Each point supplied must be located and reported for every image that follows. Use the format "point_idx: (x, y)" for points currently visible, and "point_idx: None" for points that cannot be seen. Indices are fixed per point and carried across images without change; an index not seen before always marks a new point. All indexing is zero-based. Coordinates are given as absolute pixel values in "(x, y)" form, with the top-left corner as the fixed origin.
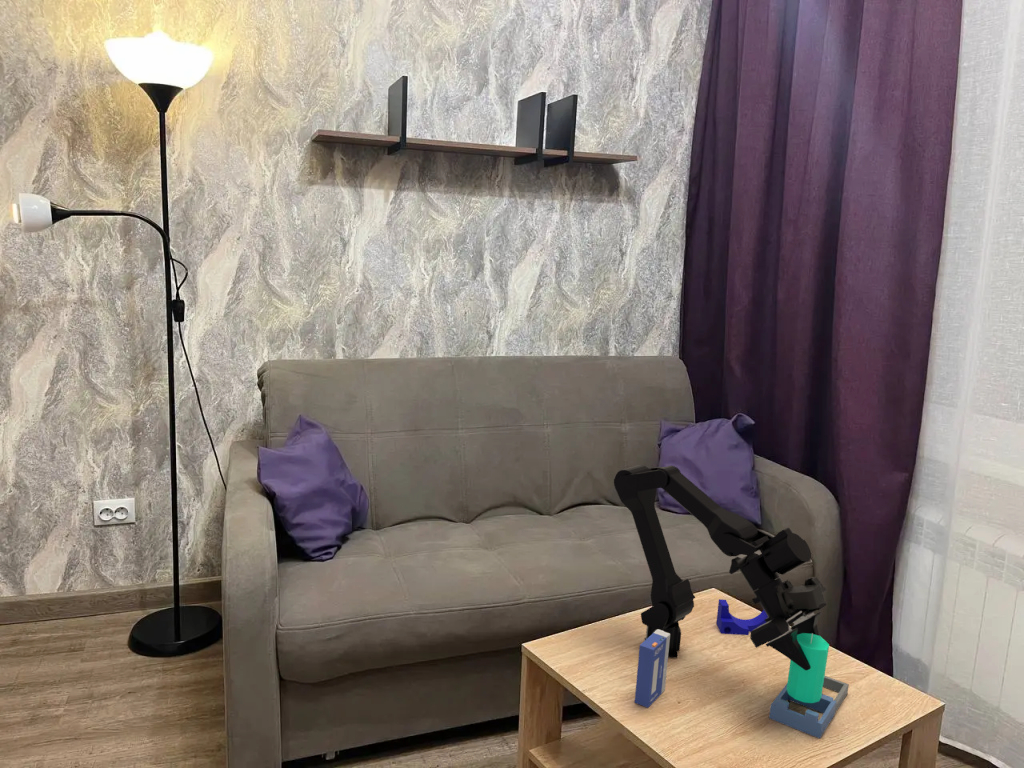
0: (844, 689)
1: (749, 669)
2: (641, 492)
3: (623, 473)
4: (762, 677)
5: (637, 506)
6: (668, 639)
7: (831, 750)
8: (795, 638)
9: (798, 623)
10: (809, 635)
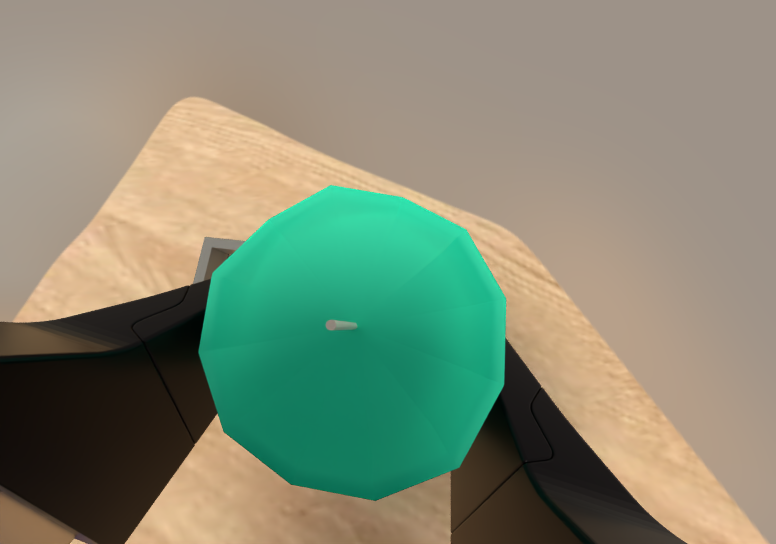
0: (237, 242)
1: (220, 510)
2: None
3: None
4: (247, 461)
5: None
6: None
7: (484, 240)
8: (588, 511)
9: (51, 521)
10: (228, 362)
